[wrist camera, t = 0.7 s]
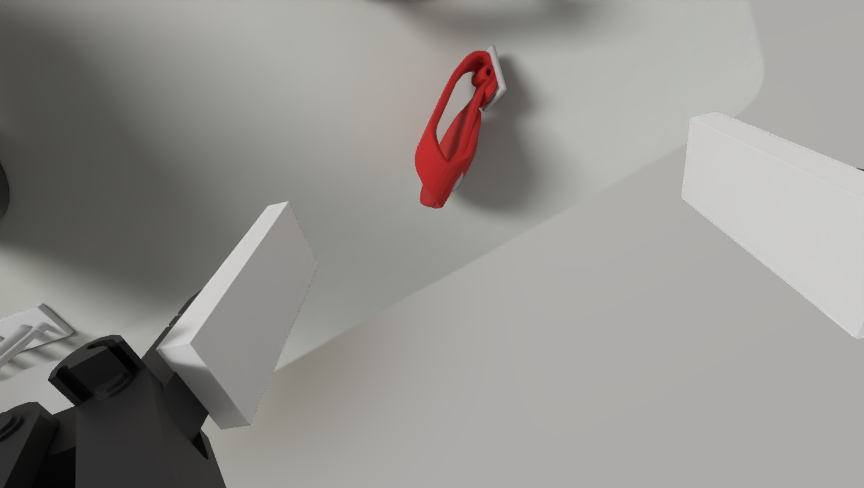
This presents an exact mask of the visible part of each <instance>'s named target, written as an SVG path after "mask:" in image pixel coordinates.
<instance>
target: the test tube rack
mask: <svg viewBox="0 0 864 488" xmlns="http://www.w3.org/2000/svg"><path fill="white" fill-rule="evenodd" d="M73 332H74V331H73V330H72V329H71V328H70V327H69V326H68V325H67V324H65V323H64V322H63V321H62V320H61V319H60V318H59V317H57V316H56V315H55V314H54V313H53V312H52V311H51V310H50V309H48V308H47V307H46V306H45V305H44V304H43V303H42V304H39V305H36V306H33V307H30V308H27V309H25V310H22V311H19V312H16V313H13V314H10V315H8V316H5V317H2V318H0V368H1V367H2V366H4V365H5V364H6V363H7V362H8V361H9V360H10V359H12V358H13V357H14V356H15V355H16V354H17V353H19V352H21V351H24V350H27V349H30V348H33V347H36V346H39V345H42V344H45V343H48V342H51V341H54V340H57V339H61V338H64V337H67V336H69V335H71V334H72V333H73Z"/></svg>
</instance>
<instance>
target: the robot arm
mask: <svg viewBox="0 0 864 488" xmlns="http://www.w3.org/2000/svg"><path fill="white" fill-rule="evenodd" d="M681 198H683V199H684V200H685V201H686V202H688V203H689V204H690V205H691V206H692V207H694V208H695V209H696V210H698V211H699V212H700V213H701V214H702V215H704V216H705V217H706V218H707V219H709V220H710V221H711V222H712V223H714V224H715V225H716V226H717V227H718V228H720V229H721V230H722V231H723V232H725V233H726V234H727V235H728V236H730V237H731V238H732V239H733V240H735V241H736V242H737V243H738V244H740V245H741V246H742V247H743V248H745V249H746V250H747V251H748V252H749V253H751V254H752V255H753V256H754V257H756V258H757V259H758V260H759V261H760V262H762V263H763V264H764V265H765V266H767V267H768V268H769V269H770V270H772V271H773V272H774V273H775V274H776V275H778V276H779V277H780V278H781V279H783V280H784V281H785V282H786V283H788V284H789V285H790V286H791V287H792V288H794V289H795V290H796V291H798V292H799V293H800V294H801V295H802V296H804V297H805V298H806V299H807V300H809V301H810V302H811V303H812V304H813V305H815V306H816V307H817V308H818V309H820V310H821V311H822V312H823V313H825V314H826V315H827V316H828V317H830V318H831V319H832V320H833V321H835V322H836V323H837V324H838V325H839V326H841V327H842V328H843V329H844V330H846V331H847V332H848V333H849V334H851V335H852V336H853V337H854V338H856V339H857V338H864V170H863V169H859V168H854V167H851V166H849V165H847V164H844V163H842V162H839V161H837V160H834V159H832V158H829V157H827V156H824V155H822V154H820V153H817V152H815V151H812V150H810V149H807V148H805V147H802V146H800V145H798V144H795V143H793V142H790V141H788V140H785V139H783V138H780V137H778V136H775V135H773V134H771V133H768V132H766V131H763V130H761V129H758V128H756V127H753V126H751V125H748V124H746V123H743V122H741V121H739V120H736V119H734V118H731V117H729V116H726V115H724V114H721V113H719V112H713V113H708V114H704V115H699V116H694V117H690V126H689V135H688V144H687V153H686V162H685V170H684V179H683V188H682V197H681ZM8 201H9V190H8V184H7V180H6V177H5V174H4V172H3V169H2V167H1V165H0V219H1V218H2V217H3V215H4V213H5V211H6V209H7V206H8ZM317 267H318V265H317V262H316V260H315V258H314V256H313V254H312V251H311V249H310V247H309V245H308V242H307V240H306V238H305V236H304V234H303V231H302V229H301V227H300V225H299V222H298V220H297V218H296V216H295V214H294V211H293V209H292V207H291V205H290V202H289V201H288V202H283V203H278V204H274V205H269V206H268V207H267V208H266V209H265V210H264V212H263V213H262V214H261V215H260V217H259V218H258V219H257V221H256V222H255V223H254V224H253V226H252V227H251V228H250V230H249V231H248V232H247V233H246V235H245V236H244V237H243V238H242V240H241V241H240V242H239V244H238V245H237V246H236V247H235V249H234V250H233V251H232V252H231V254H230V255H229V256H228V258H227V259H226V260H225V261H224V263H223V264H222V265H221V267H220V268H219V269H218V270H217V272H216V273H215V274H214V275H213V277H212V278H211V279H210V281H209V282H208V283H207V284H206V286H205V287H204V288H203V289H202V290H200V291H199V292H198V293H197V294H195V295H194V296H193V297H192V298H190V299H189V300H188V301H187V303H186V304H185V305H184V306H183V308H182V309H181V310H180V311H179V313H178V316H175V318H174V319H173V320H172V321H171V323H170V324H169V327H166V329H165V330H164V331H163V332H162V334H161V335H160V336H159V338H158V339H157V340H156V341H155V343H154V344H153V345H152V346H151V347H150V349H149V350H148V351H147V352H146V354H145V355H144V356H143V357H142V359H140V358H139V356H138V355H137V354H136V353H135V352H134V351H133V350H132V348H131V347H130V346H129V345H128V344H127V342H126V341H125V340H124V339H123V338H122V337H121V336H120V335H109V336H105V337H101V338H99V339H96V340H94V341H92V342H90V343H87V344H86V345H84V346H82V347H81V348H79V349H77V350H76V351H74V352H72V353H71V354H70V355H69V356H67V357H66V358H65V359H64V360H62V361H61V362H60V363H59V364H58V365H57V366H56V367H55V368H54V370H53V371H52V372H51V374H50V376H49V379H48V381H49V382H51V384H52V385H54V386H55V387H56V388H57V389H58V390H59V391H60V392H61V393H62V394H63V395H64V396H66V397H67V399H69V400H70V401H71V402H72V403H73V404H74V405H75V406H74V407H71V408H69V409H67V410H64V411H61V412H59V413H56V414H53V415H52V414H50V413H49V412H48V411H47V410H46V409H45V408H44V407H43V406H41V405H40V404H39V403H38V402H28V403H25V404H22V405H19V406H16V407H14V408H12V409H10V410H8V411H6V412H3V413H1V414H0V488H226V486H225V483H224V480H223V478H222V475H221V472H220V469H219V467H218V464H217V461H216V458H215V455H214V453H213V450H212V447H211V444H210V442H209V439H208V437H207V436H206V435H205V434H204V432H203V431H202V430H201V427H202V425H203V423H204V421H205V419H206V417H207V415H208V414H209V415H210V417H211V418H212V419H213V420H214V421H215V423H216V424H217V425H218V426H219V428H220V429H227V428H234V427H241V426H248V425H251V423H252V420H253V418H254V415H255V413H256V411H257V408H258V406H259V404H260V401H261V399H262V396H263V394H264V392H265V390H266V387H267V385H268V382H269V380H270V377H271V375H272V373H273V371H274V368H275V366H276V364H277V361H278V359H279V357H280V354H281V352H282V350H283V347H284V345H285V342H286V340H287V338H288V335H289V333H290V331H291V328H292V326H293V324H294V321H295V319H296V317H297V314H298V312H299V309H300V307H301V305H302V302H303V300H304V298H305V295H306V293H307V291H308V288H309V286H310V284H311V281H312V279H313V276H314V274H315V272H316V269H317Z"/></svg>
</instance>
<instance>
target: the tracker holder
mask: <svg viewBox="0 0 864 488" xmlns="http://www.w3.org/2000/svg"><path fill="white" fill-rule="evenodd" d="M467 72H472V73H473V76H472V85H473V86H475V87H476V91H475V93H474V95H473V98H472V99H471V100H470V102H469V103H468V104H467V105H466V106H465V107H464V109H463V110H462V111H461V112H460V113H459V114H458V115H457V116H456V118H455V119H454V121H453V122H452V124H451V125H450V127H449V129H448V130H447V132H446V134H445V135H444V137H443V139H442V141H441V143H440V145H439V143H438V140H437V135H436V129H437V125H438V123H439V120H440V118H441V116H442V114H443V111H444V109H445V107H446V105H447V102H448V100H449V98H450V96H451V93H452V91H453V89H454V86H455V84H456V82H457V81H458V80H459V79H460V77H461V76H462V75H463V74H465V73H467ZM498 85H499V90H498V91H497V92H496V93H495V94H494V95H493V96H492V94H493V93H494V92H495V91H496V88H497V86H498ZM506 90H507V87H506V84H505V80H504V77H503V73H502V70H501V66H500V63H499V59H498V56H497V52H496V49H495V46H494V45H490V46H489V48H488V49H487V50H486V51H474V52H472V53H471V54H469V55H468V56H467V57H466V58H465V59H464V60H463V61H462V62H461V63H460V65H459V66H458V67H457V68H456V70H455V71H454V72H453V74H452V76H451V77H450V79H449V81H448V83H447V85H446V87H445V89H444V91H443V93H442V95H441V97H440V99H439V101H438V104H437V106H436V108H435V110H434V112H433V114H432V117H431V119H430V121H429V123H428V125H427V127H426V130H425V132H424V134H423V136H422V138H421V140H420V143H419V145H418V147H417V150H416V154H415V166H416V170H417V173H418V175H419V177H420V179H421V181H422V183H423V186H422V190H421V194H420V202H421V203H422V204H423V205H425V206H428V207H432V208H442V207H443V206H444V204H445V202H446V200H447V199H448V197H449V195H450V193H451V192H453V191H454V190H456V189H457V187H458V186H459V185H460V183H461V181H462V179H463V177H464V176H465V174H466V172H467V171H468V169H469V167H470V165H471V162H472V160H473V157H474V155H475V151H476V147H477V140H478V134H479V129H480V124H481V111H480V110H479V107H480V108H482V111H484V112H486V111H488V110H489V109H490V107H491V106H492V105H493V104H494V103H495V102H496V101H497V100H498V99H499V98H500V97H501V96H502V95H503V94H504V92H505V91H506ZM491 96H492V98H491V99H490V100H489V101H488V99H489V98H490V97H491ZM487 101H488V102H487Z"/></svg>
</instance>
